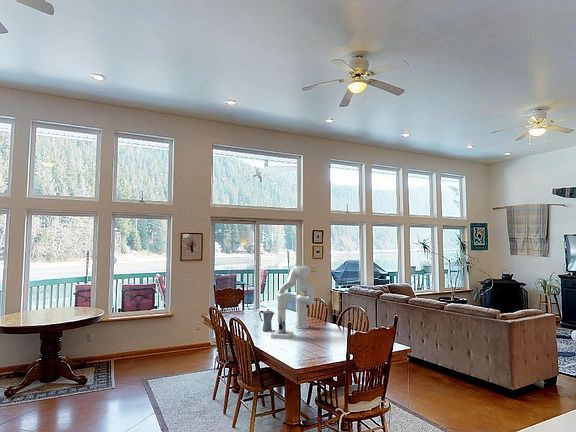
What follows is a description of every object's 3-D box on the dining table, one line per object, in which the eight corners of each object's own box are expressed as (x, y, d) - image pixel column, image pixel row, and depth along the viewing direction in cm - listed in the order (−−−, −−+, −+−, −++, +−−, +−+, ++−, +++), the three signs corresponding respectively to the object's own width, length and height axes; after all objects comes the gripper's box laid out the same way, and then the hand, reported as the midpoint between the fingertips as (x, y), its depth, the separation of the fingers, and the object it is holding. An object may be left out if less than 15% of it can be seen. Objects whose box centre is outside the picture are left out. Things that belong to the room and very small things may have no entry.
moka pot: (273, 332, 349) (273, 310, 350) (257, 331, 352) (257, 309, 353) (275, 329, 358) (275, 308, 360) (260, 329, 361) (260, 307, 363)
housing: (276, 333, 343) (276, 330, 343) (293, 334, 339) (293, 331, 339) (271, 338, 327) (270, 334, 327) (288, 339, 323) (288, 335, 323)
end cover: (279, 335, 336) (279, 322, 337) (286, 335, 335) (286, 322, 336) (278, 336, 331) (278, 323, 331) (284, 337, 329) (284, 324, 330)
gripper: (280, 306, 344) (280, 326, 342) (275, 309, 327) (275, 330, 325) (288, 307, 342) (288, 326, 340) (283, 310, 325) (283, 330, 324)
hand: (282, 328), depth 333 cm, fingers open, 9 cm apart
